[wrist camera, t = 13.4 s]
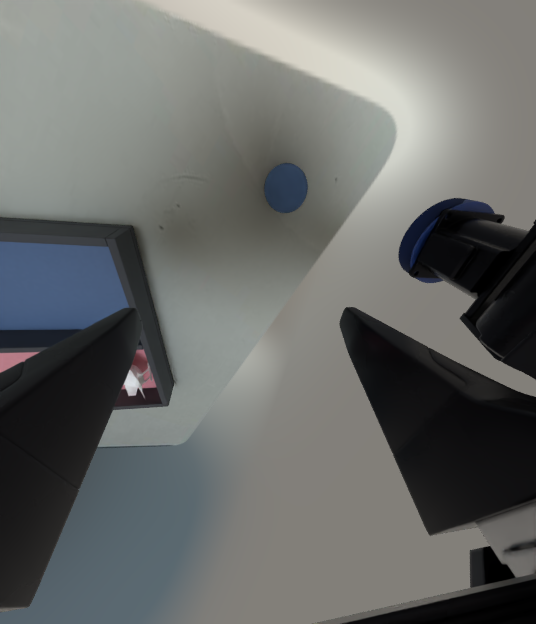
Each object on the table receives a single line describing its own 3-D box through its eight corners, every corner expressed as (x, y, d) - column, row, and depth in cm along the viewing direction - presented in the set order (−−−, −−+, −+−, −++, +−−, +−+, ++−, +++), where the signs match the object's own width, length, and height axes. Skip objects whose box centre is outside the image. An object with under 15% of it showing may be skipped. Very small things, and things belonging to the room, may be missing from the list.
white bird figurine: (89, 341, 20) (83, 380, 17) (144, 331, 22) (148, 364, 19) (110, 390, 25) (109, 429, 22) (155, 378, 27) (160, 411, 24)
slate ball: (304, 165, 15) (318, 166, 13) (297, 210, 17) (307, 218, 15) (264, 159, 15) (270, 160, 12) (260, 206, 17) (265, 215, 14)
